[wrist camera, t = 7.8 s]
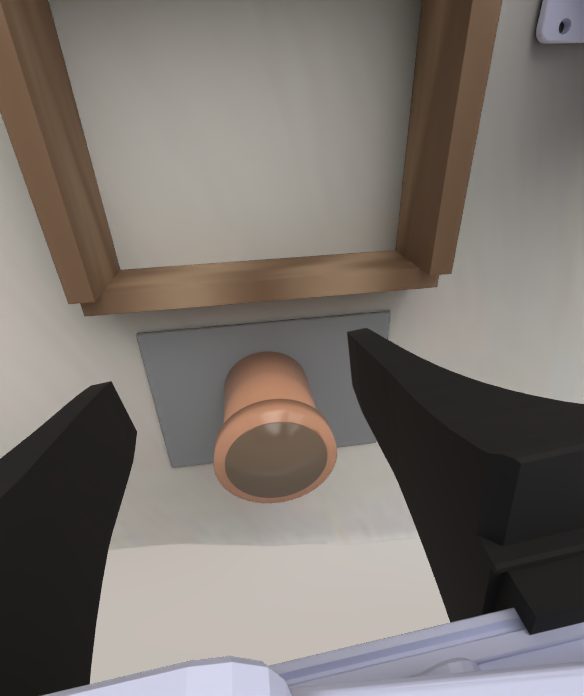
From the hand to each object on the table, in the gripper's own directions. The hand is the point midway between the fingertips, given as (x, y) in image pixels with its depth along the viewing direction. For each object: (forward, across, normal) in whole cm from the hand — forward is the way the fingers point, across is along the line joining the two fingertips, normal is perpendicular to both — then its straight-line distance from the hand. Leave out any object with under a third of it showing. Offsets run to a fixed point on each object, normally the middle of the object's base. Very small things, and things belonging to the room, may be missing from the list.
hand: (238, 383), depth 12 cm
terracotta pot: (+9, 0, +7) cm, 11 cm away
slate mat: (+9, 0, +8) cm, 12 cm away
